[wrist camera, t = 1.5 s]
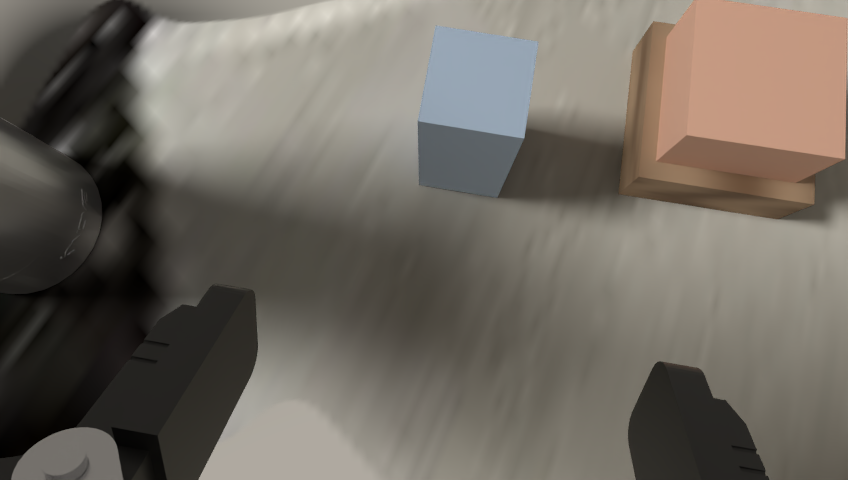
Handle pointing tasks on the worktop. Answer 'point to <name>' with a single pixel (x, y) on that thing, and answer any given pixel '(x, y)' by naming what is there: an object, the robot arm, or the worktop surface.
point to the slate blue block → (473, 109)
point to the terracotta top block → (754, 91)
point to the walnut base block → (683, 181)
